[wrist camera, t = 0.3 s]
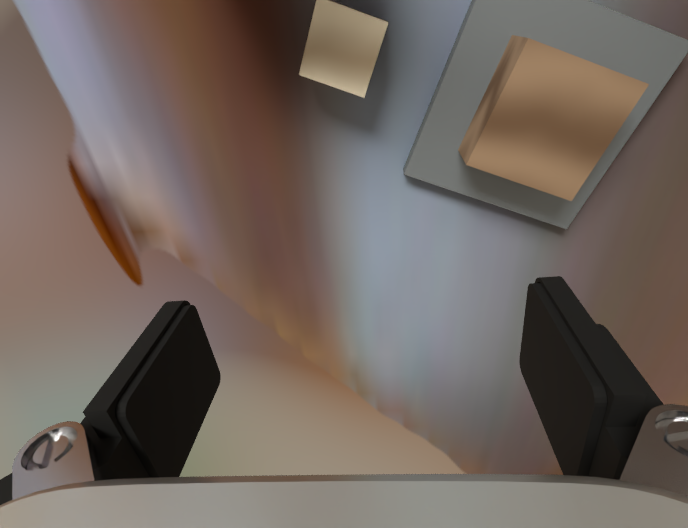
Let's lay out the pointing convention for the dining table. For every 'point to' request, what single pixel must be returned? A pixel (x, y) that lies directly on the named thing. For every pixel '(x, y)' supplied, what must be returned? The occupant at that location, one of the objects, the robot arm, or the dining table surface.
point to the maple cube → (342, 47)
